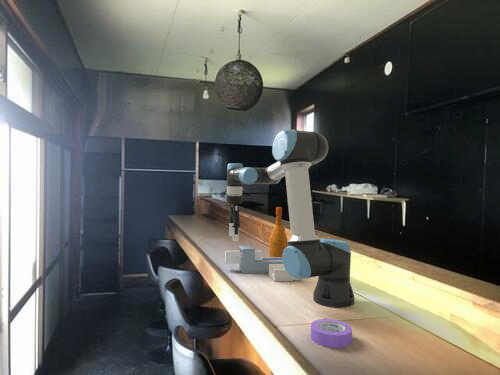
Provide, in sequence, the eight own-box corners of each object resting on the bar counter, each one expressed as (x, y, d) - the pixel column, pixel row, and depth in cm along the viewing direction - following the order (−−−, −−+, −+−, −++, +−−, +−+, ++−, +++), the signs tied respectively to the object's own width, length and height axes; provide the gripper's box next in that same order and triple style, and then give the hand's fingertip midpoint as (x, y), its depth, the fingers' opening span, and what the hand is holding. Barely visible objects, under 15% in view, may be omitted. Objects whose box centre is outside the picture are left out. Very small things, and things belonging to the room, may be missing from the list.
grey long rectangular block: (260, 260, 188) (260, 249, 188) (262, 263, 183) (262, 251, 182) (224, 261, 185) (224, 250, 185) (225, 263, 180) (225, 252, 180)
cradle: (298, 280, 168) (298, 269, 167) (274, 281, 166) (274, 270, 165) (291, 274, 178) (291, 263, 178) (268, 274, 176) (268, 264, 176)
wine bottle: (286, 264, 197) (287, 207, 196) (267, 263, 199) (268, 207, 198) (288, 260, 206) (289, 206, 205) (270, 259, 208) (271, 205, 207)
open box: (286, 271, 183) (287, 248, 182) (242, 273, 179) (242, 249, 178) (281, 266, 193) (281, 244, 192) (238, 267, 188) (239, 245, 188)
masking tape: (345, 330, 115) (345, 318, 114) (357, 348, 103) (357, 334, 103) (307, 330, 114) (307, 318, 114) (315, 348, 103) (315, 334, 102)
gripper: (246, 196, 170) (245, 243, 171) (238, 193, 195) (237, 234, 196) (230, 196, 169) (229, 243, 170) (223, 193, 193) (223, 234, 194)
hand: (233, 238), depth 183 cm, fingers open, 13 cm apart
